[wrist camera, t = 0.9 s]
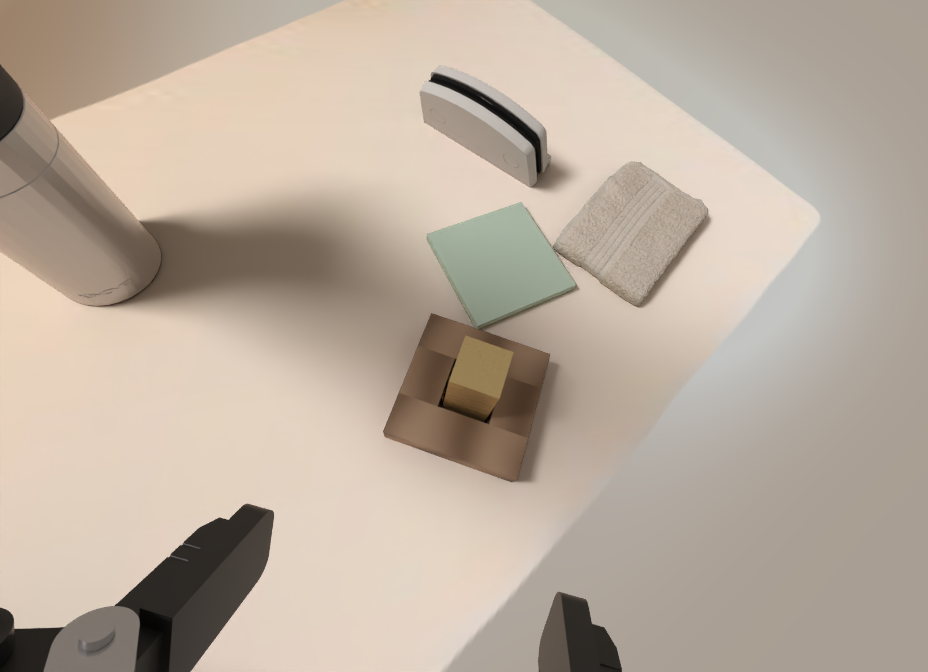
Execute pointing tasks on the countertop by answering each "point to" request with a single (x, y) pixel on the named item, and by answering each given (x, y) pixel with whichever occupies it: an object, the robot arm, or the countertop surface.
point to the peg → (477, 379)
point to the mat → (499, 264)
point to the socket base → (456, 434)
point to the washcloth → (631, 230)
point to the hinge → (485, 123)
